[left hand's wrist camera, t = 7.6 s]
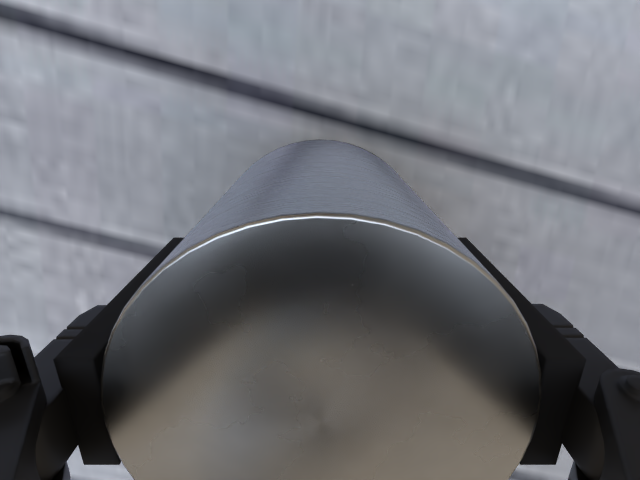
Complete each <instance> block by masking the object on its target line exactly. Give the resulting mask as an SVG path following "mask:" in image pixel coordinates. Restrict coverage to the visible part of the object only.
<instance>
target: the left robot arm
mask: <svg viewBox="0 0 640 480" xmlns="http://www.w3.org/2000/svg"><path fill="white" fill-rule="evenodd" d="M183 239H184V238H173V239H172V240H171V241H170V242H169V243H168V244H167V245H166V246H165V247H164V248H163V249H162V250H161V251H160V252H159V253H158V254H157V255H156V256H155V257H154V258H153V259H152V260H151V261H150V262H149V263H148V264H147V265H146V266H145V267H144V268H143V269H142V270H141V271H140V272H139V273H138V274H137V275H136V276H135V277H134V278H133V279H132V280H131V281H130V282H129V283H128V284H127V285H126V286H125V287H124V288H123V289H122V290H121V291H120V292H119V294H118V295H117V296H116V297H115V298H114V299H113V300H112V301H111V302H110V303H109V304H108V305H97V306H96V307H94V308H92V309H90V310H88V311H86V312H85V313H83V314H81V315H79V316H78V317H77V318H76V319H75V320H74V321H73V322H72V323H71V324H70V325H69V326H68V327H67V329H64V330H63V331H62V332H61V333H60V334H59V335H58V336H57V337H56V339H54V340H53V341H51V342H50V343H49V344H48V345H47V346H46V347H45V348H44V349H43V350H42V351H41V352H40V353H39V354H38V355H37V356H35V357H34V356H33V353H32V350H31V347H30V344H29V340H28V339H26V338H24V337H23V336H17V335H5V336H0V480H70V472H69V468H68V465H67V460H68V459H69V457H70V456H71V454H72V453H73V451H74V450H75V448H76V447H77V445H78V446H79V449H80V453H81V456H82V459H83V463H84V465H119V464H120V463H121V459H120V458H119V456H118V454H117V452H116V450H115V448H114V446H113V444H112V441H111V439H110V436H109V433H108V430H107V428H106V425H105V420H104V415H103V410H102V404H101V373H102V366H103V359H104V353H105V350H106V347H107V344H108V341H109V338H110V335H111V332H112V329H113V327H114V325H115V324H116V322H117V320H118V318H119V316H120V314H121V312H122V310H123V309H124V307H125V305H126V304H127V303H128V302H129V300H130V299H131V298H132V296H133V295H134V294H135V292H136V291H137V290H138V288H139V287H140V286H141V285H142V284H143V282H144V281H145V280H146V279H147V278H148V277H149V276H150V275H151V274H152V273H153V272H154V271H155V269H156V268H157V267H158V266H159V265H160V264H161V263H162V262H163V261H164V260H165V259H166V257H167V256H168V255H169V254H170V253H171V252H172V251H173V250H174V249H175V248H176V247H177V246H178V244H179V243H180V242H181V241H182V240H183ZM458 239H459V240H460V241H461V243H462V244H463V245H464V246H465V247H466V248H467V249H468V250H469V251H470V252H471V253H472V254H473V255H474V256H475V258H476V259H477V260H478V261H479V262H480V263H481V264H482V265H483V266H484V267H485V268H486V269H487V270H488V271H489V273H490V274H491V275H492V276H493V277H494V278H495V279H496V280H497V281H498V283H499V284H500V285H501V286H502V287H503V289H504V290H505V291H506V292H507V293H508V295H509V296H510V297H511V298H512V299H513V301H514V302H515V304H516V306H517V307H518V309H519V311H520V312H521V314H522V316H523V317H524V319H525V321H526V323H527V325H528V327H529V330H530V332H531V335H532V338H533V340H534V343H535V346H536V349H537V354H538V360H539V365H540V370H541V402H540V409H539V416H538V420H537V424H536V427H535V430H534V433H533V436H532V439H531V442H530V444H529V446H528V448H527V450H526V452H525V454H524V456H523V458H522V460H521V461H520V465H556V462H557V458H558V455H559V452H560V448H561V445H562V444H563V445H564V447H565V448H566V449H567V451H568V452H569V454H570V455H571V457H572V458H573V460H574V461H573V465H572V468H571V471H570V474H569V477H568V480H640V372H636V371H633V370H627V369H619V368H618V367H617V366H616V365H615V364H614V363H613V362H612V361H611V360H610V359H609V358H607V357H606V356H605V355H604V354H603V353H602V352H601V351H600V350H599V349H598V348H597V347H596V346H595V345H593V344H592V343H591V342H590V341H589V340H588V339H587V338H584V335H583V334H582V333H581V332H579V331H578V330H577V329H576V328H573V325H572V324H571V323H570V322H569V321H568V320H567V319H565V318H564V317H563V316H562V315H561V314H560V313H558V312H556V311H554V310H552V309H551V308H549V307H547V306H545V305H543V304H531V303H530V302H529V301H528V300H527V299H526V298H525V297H524V296H523V295H522V294H521V293H520V292H519V291H518V290H517V289H516V288H515V287H514V286H513V285H512V284H511V283H510V282H509V281H508V280H507V279H506V278H505V277H504V276H503V275H502V274H501V273H500V272H499V271H498V270H497V269H496V268H495V267H494V266H493V265H492V264H491V263H490V261H489V260H488V259H487V258H486V257H485V256H484V255H483V254H482V253H481V252H480V251H479V250H478V249H477V248H476V247H475V246H474V245H473V244H472V243H471V242H470V241H469V240H468V239H467V238H458Z"/></svg>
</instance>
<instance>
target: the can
mask: <svg viewBox="0 0 640 480" xmlns="http://www.w3.org/2000/svg"><path fill="white" fill-rule="evenodd" d="M540 402H541V370H540V365H539V360H538V354H537V349H536V346H535V343H534V340H533V338H532V335H531V332H530V330H529V327H528V325H527V323H526V321H525V319H524V317H523V316H522V314H521V312H520V311H519V309H518V307H517V306H516V304H515V302H514V301H513V299H512V298H511V297H510V296H509V295H508V293H507V292H506V291H505V290H504V289H503V287H502V286H501V285H500V284H499V283H498V281H497V280H496V279H495V278H494V277H493V276H492V275H491V274H490V273H489V271H488V270H487V269H486V268H485V267H484V266H483V265H482V264H481V263H480V262H479V261H478V260H477V259H476V258H475V256H474V255H473V254H472V253H471V252H470V251H469V250H468V249H467V248H466V247H465V246H464V245H463V244H462V243H461V241H460V240H459V239H458V238H457V237H456V236H455V235H454V234H453V233H452V232H451V231H450V230H449V229H448V228H447V226H446V225H445V224H444V223H443V222H442V221H441V220H440V219H439V218H438V217H437V216H436V215H435V214H434V212H433V211H432V210H431V209H430V208H429V207H428V206H427V205H426V204H425V203H424V202H423V201H422V200H421V199H420V197H419V196H418V195H417V194H416V193H415V192H414V191H413V190H412V189H411V188H410V187H409V186H408V185H407V184H406V182H405V181H404V180H403V179H402V178H401V177H400V176H399V175H398V174H397V173H396V172H395V171H394V170H393V169H392V168H391V167H390V166H389V165H388V164H387V163H386V162H384V161H383V160H382V159H380V158H379V157H377V156H376V155H374V154H373V153H371V152H369V151H367V150H364V149H362V148H360V147H357V146H354V145H351V144H348V143H344V142H339V141H334V140H309V141H302V142H297V143H293V144H289V145H286V146H284V147H281V148H278V149H276V150H274V151H272V152H271V153H269V154H267V155H265V156H264V157H262V158H261V159H259V160H258V161H257V162H255V163H254V164H253V165H252V166H251V167H250V168H249V169H248V170H247V171H246V172H245V173H244V174H243V175H242V176H241V177H240V178H239V179H238V180H237V181H236V182H235V184H234V185H233V186H232V187H231V188H230V189H229V190H228V191H227V192H226V193H225V194H224V195H223V197H222V198H221V199H220V200H219V201H218V202H217V203H216V204H215V205H214V206H213V207H212V209H211V210H210V211H209V212H208V213H207V214H206V215H205V216H204V217H203V218H202V219H201V220H200V222H199V223H198V224H197V225H196V226H195V227H194V228H193V229H192V230H191V231H190V232H189V234H188V235H187V236H186V237H185V238H184V239H183V240H182V241H181V242H180V243H179V244H178V246H177V247H176V248H175V249H174V250H173V251H172V252H171V253H170V254H169V255H168V256H167V257H166V259H165V260H164V261H163V262H162V263H161V264H160V265H159V266H158V267H157V268H156V269H155V271H154V272H153V273H152V274H151V275H150V276H149V277H148V278H147V279H146V280H145V281H144V282H143V284H142V285H141V286H140V287H139V288H138V290H137V291H136V292H135V294H134V295H133V296H132V298H131V299H130V300H129V302H128V303H127V304H126V305H125V307H124V309H123V310H122V312H121V314H120V316H119V318H118V320H117V322H116V324H115V325H114V327H113V329H112V332H111V335H110V338H109V341H108V344H107V347H106V350H105V353H104V359H103V366H102V373H101V404H102V410H103V415H104V420H105V425H106V428H107V430H108V433H109V436H110V439H111V441H112V444H113V446H114V448H115V450H116V452H117V454H118V456H119V458H120V459H121V461H122V463H123V465H124V466H125V468H126V469H127V470H128V472H129V473H130V474H131V476H132V477H133V479H134V480H508V479H509V477H510V476H511V474H512V473H513V471H514V470H515V469H516V467H517V466H518V464H519V463H520V461H521V460H522V458H523V456H524V454H525V452H526V450H527V448H528V446H529V444H530V442H531V439H532V436H533V433H534V430H535V427H536V424H537V420H538V416H539V409H540Z"/></svg>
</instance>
